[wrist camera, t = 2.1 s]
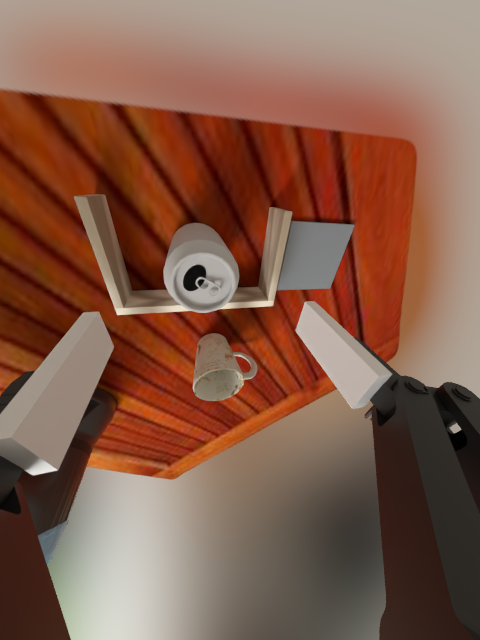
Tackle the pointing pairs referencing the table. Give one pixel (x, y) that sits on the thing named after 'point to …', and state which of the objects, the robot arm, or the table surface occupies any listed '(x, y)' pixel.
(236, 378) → the mug
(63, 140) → the table surface
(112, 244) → the u-shaped shelf bracket
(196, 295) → the can
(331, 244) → the mat
